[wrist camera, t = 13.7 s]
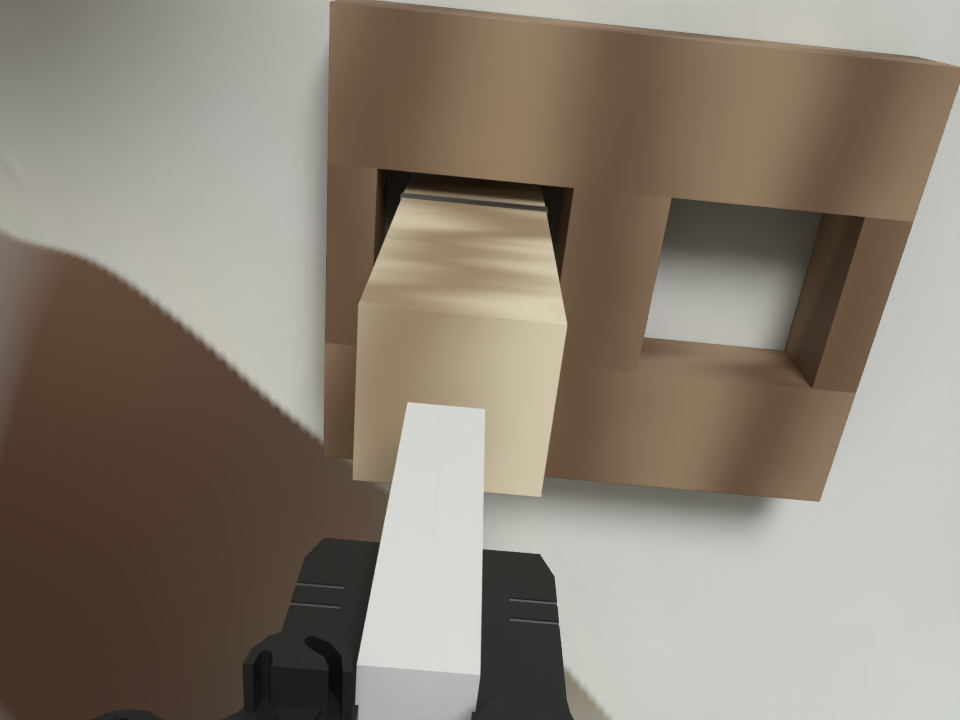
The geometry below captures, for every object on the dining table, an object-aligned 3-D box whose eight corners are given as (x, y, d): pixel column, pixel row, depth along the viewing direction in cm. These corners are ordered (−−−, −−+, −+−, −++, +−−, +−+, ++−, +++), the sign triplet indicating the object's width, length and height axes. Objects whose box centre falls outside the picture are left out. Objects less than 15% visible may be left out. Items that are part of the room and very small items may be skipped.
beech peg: (542, 183, 28) (570, 322, 17) (527, 305, 30) (542, 499, 19) (411, 169, 28) (355, 302, 17) (404, 293, 30) (350, 481, 19)
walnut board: (916, 56, 26) (964, 68, 23) (792, 456, 33) (819, 501, 30) (347, -3, 26) (329, 2, 23) (338, 414, 32) (323, 456, 30)
